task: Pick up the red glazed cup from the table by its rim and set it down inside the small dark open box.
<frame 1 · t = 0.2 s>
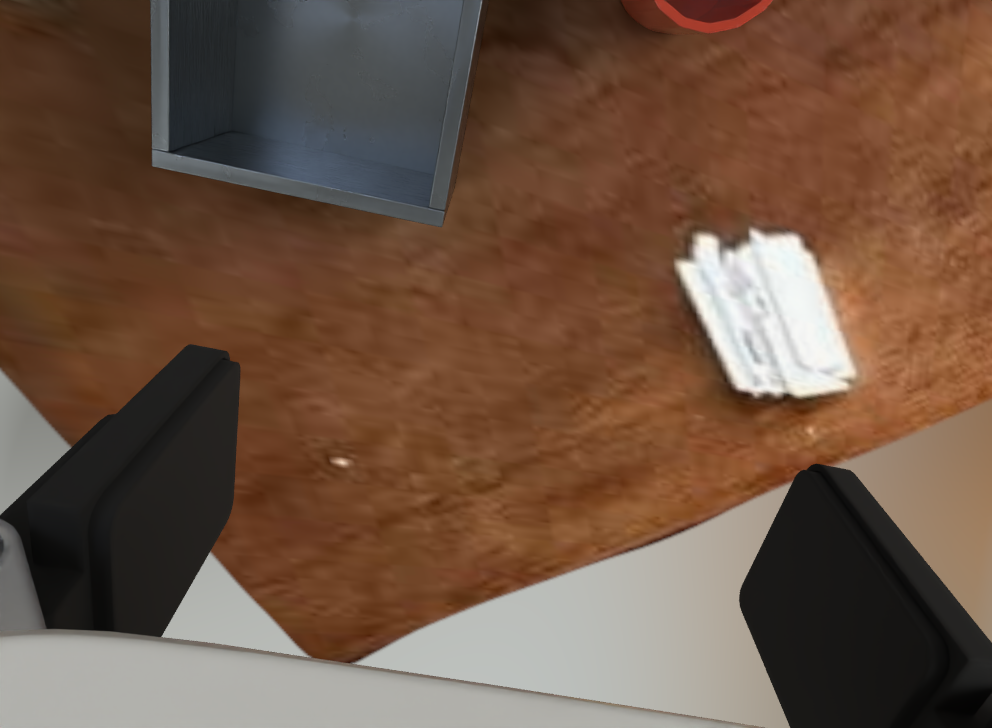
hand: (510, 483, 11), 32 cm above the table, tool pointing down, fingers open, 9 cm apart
dark open box: (356, 19, 36), on the table
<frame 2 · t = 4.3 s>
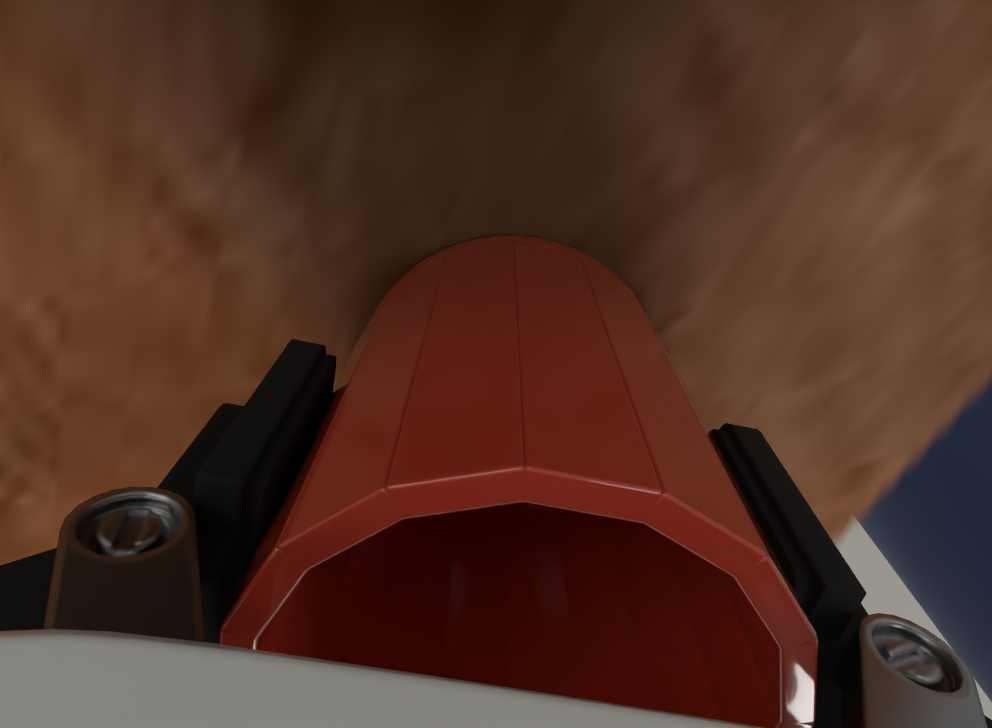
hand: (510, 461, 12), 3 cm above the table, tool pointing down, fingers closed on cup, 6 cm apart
cup: (509, 381, 14), on the table, touching gripper
when the fingers open (4 cm above the table, at t = 11.4 s): cup stays where it is, resting on dark open box.
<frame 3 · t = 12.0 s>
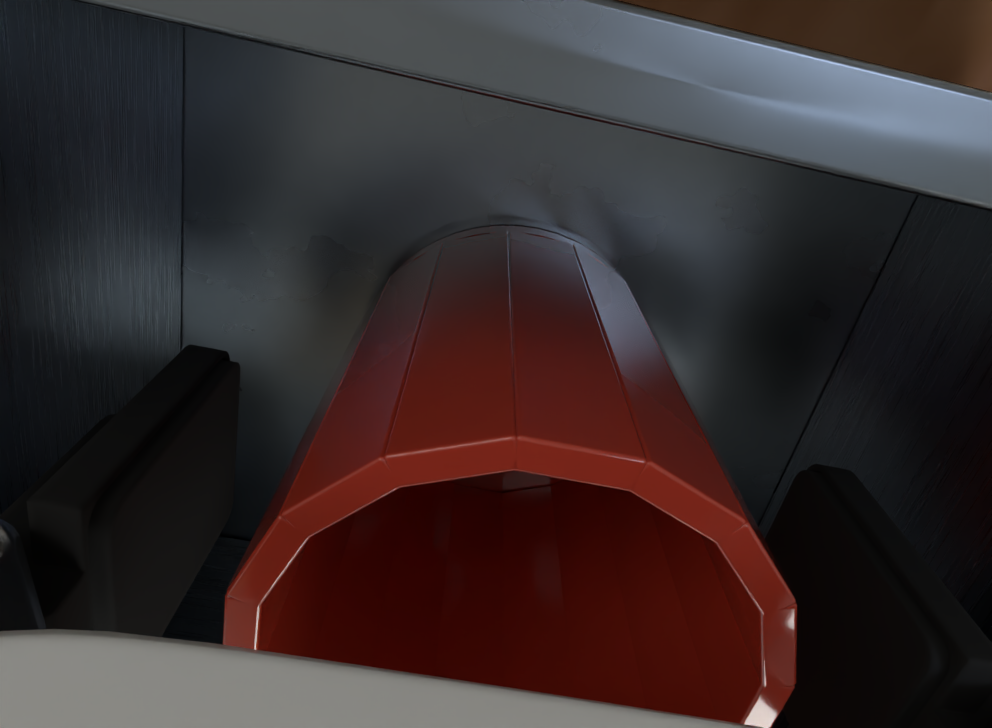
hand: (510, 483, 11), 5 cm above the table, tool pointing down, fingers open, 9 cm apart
dark open box: (505, 351, 16), on the table
cup: (504, 368, 15), point 1 cm above the table, touching dark open box
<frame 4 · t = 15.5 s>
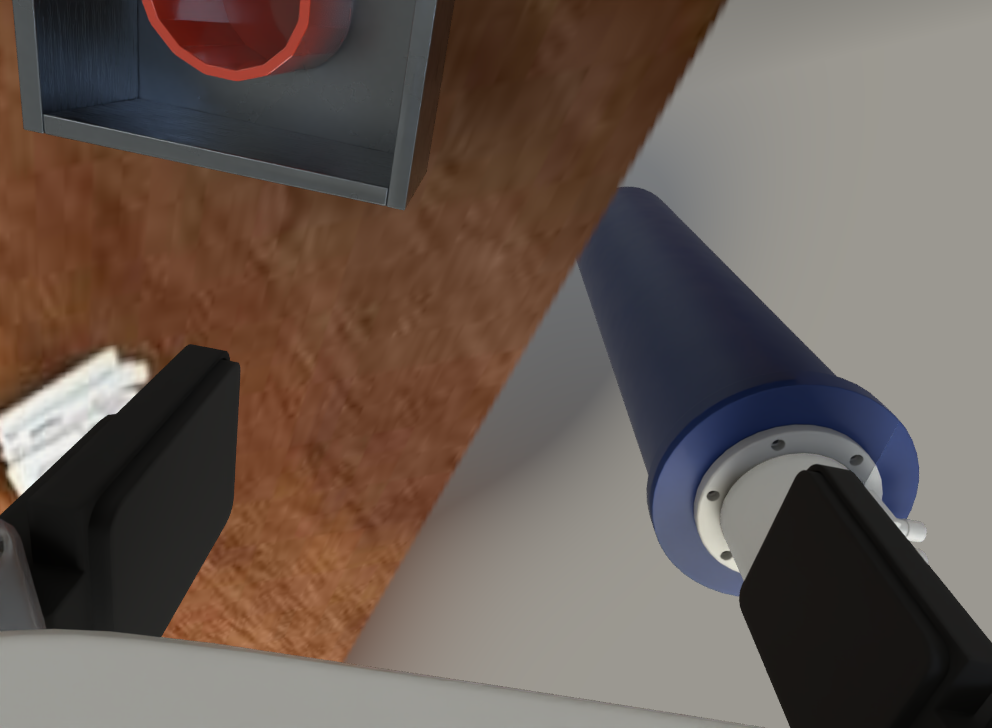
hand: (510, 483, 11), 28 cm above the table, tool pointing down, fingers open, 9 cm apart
dark open box: (292, 0, 33), on the table
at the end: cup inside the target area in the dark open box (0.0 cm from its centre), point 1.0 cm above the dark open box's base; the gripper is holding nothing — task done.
